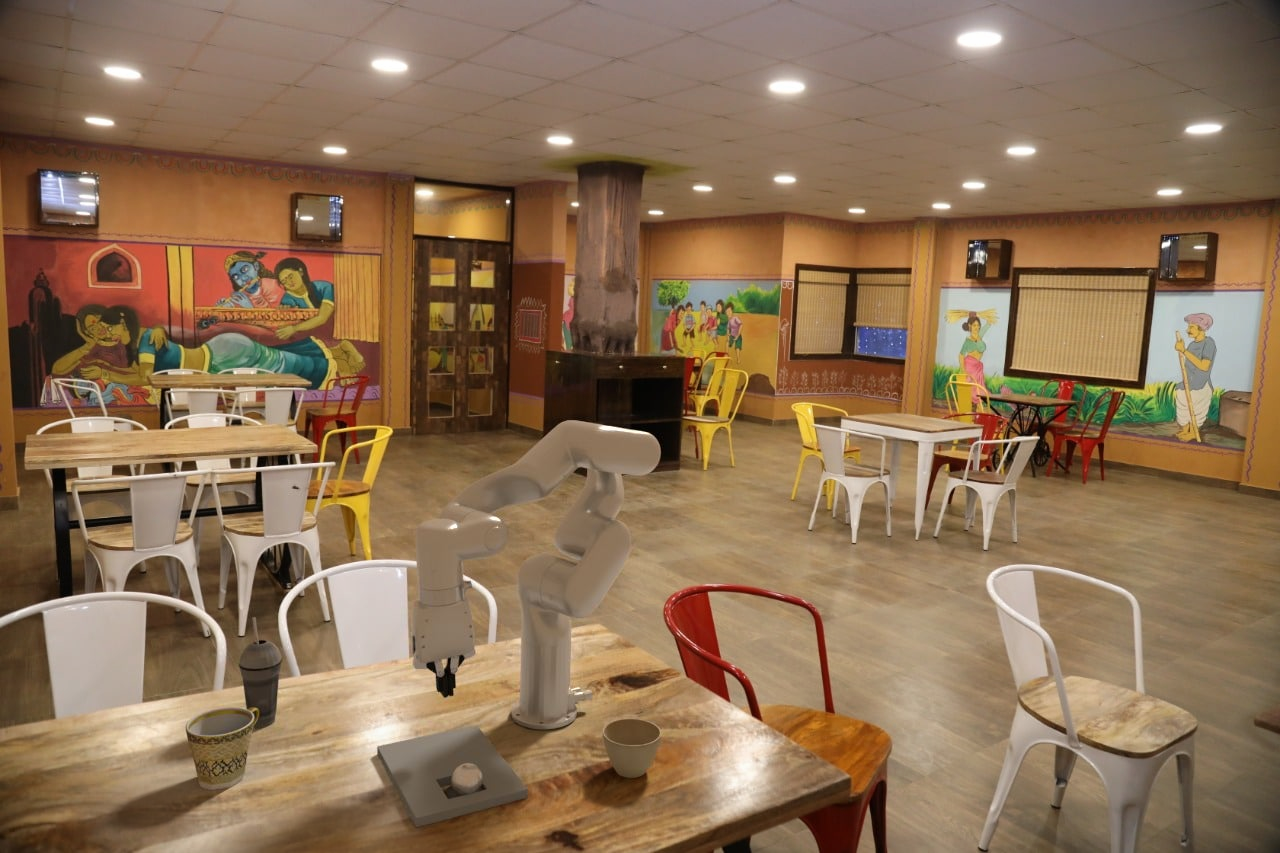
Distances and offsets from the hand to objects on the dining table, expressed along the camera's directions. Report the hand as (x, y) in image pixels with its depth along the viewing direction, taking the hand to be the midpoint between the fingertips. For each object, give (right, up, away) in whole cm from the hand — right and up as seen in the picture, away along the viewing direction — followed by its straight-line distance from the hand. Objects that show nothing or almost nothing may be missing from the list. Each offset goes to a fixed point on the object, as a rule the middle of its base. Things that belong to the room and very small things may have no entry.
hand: (446, 693), depth 150 cm
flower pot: (+32, -13, -1) cm, 34 cm away
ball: (+6, -11, -11) cm, 16 cm away
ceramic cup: (-34, -11, -7) cm, 37 cm away
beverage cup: (-37, -9, +11) cm, 39 cm away
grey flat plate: (+2, -12, -5) cm, 13 cm away
